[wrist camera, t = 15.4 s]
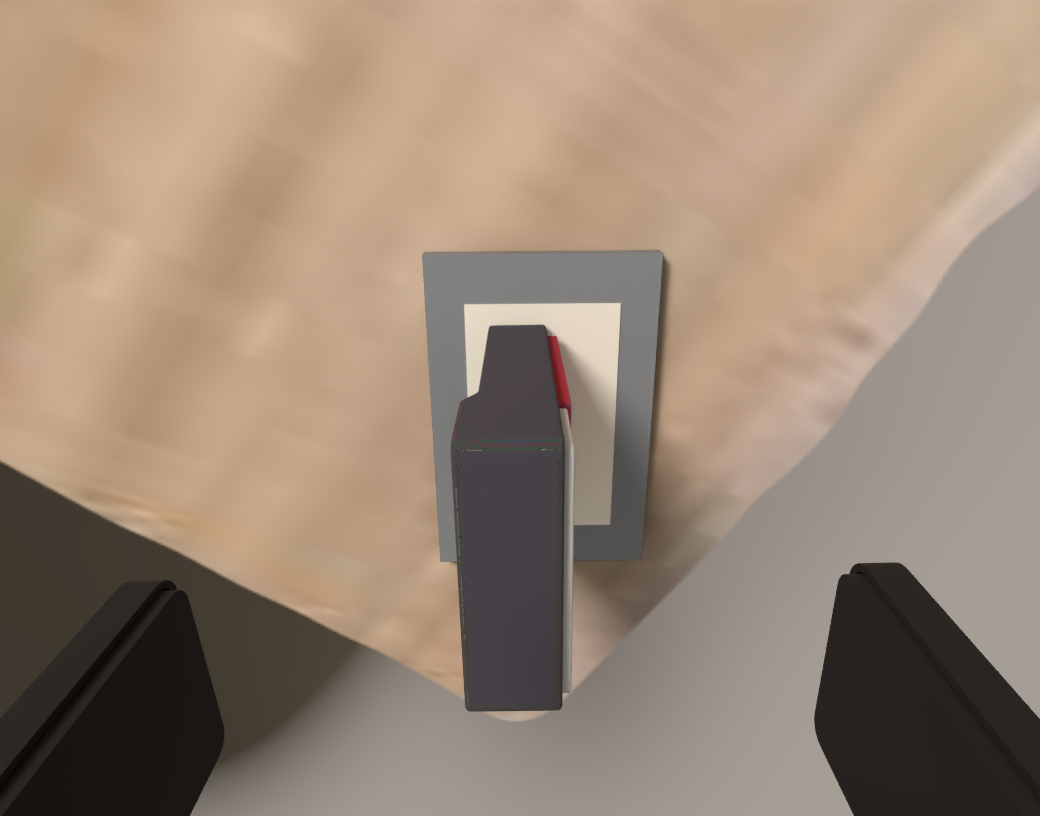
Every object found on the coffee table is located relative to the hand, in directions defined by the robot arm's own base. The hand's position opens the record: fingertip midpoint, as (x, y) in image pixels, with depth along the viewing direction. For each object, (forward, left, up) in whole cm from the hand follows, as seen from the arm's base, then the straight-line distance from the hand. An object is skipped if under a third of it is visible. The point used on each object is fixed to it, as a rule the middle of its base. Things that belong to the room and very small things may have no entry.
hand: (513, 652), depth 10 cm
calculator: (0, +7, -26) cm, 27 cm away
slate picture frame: (-1, +7, -27) cm, 28 cm away
